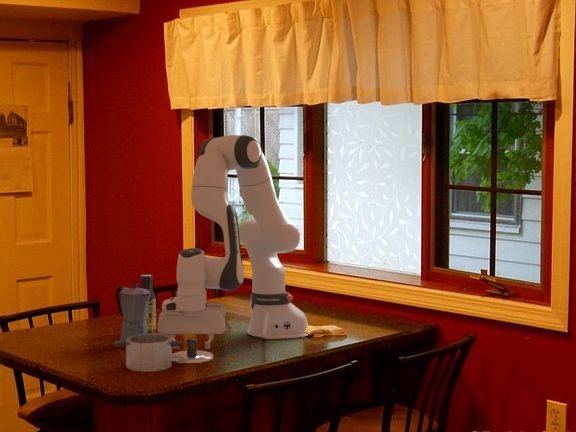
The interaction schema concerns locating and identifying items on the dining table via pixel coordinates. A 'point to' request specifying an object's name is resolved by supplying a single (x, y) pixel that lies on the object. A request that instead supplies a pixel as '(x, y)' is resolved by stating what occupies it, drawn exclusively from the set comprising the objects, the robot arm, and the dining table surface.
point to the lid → (191, 354)
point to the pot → (148, 351)
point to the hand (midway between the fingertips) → (191, 348)
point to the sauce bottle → (151, 314)
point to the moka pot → (133, 310)
